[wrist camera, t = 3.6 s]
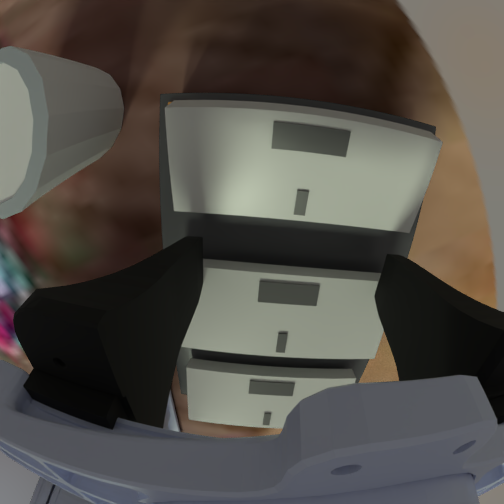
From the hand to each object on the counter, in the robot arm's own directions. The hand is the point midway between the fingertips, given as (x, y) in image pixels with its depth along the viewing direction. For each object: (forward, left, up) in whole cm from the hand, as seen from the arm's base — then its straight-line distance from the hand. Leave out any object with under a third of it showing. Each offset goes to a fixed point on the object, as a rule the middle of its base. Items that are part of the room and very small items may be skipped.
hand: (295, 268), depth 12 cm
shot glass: (+6, +12, -5) cm, 14 cm away
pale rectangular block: (-9, 0, -1) cm, 9 cm away
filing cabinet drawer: (-2, 0, -1) cm, 3 cm away
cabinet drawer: (+4, 0, -1) cm, 4 cm away
